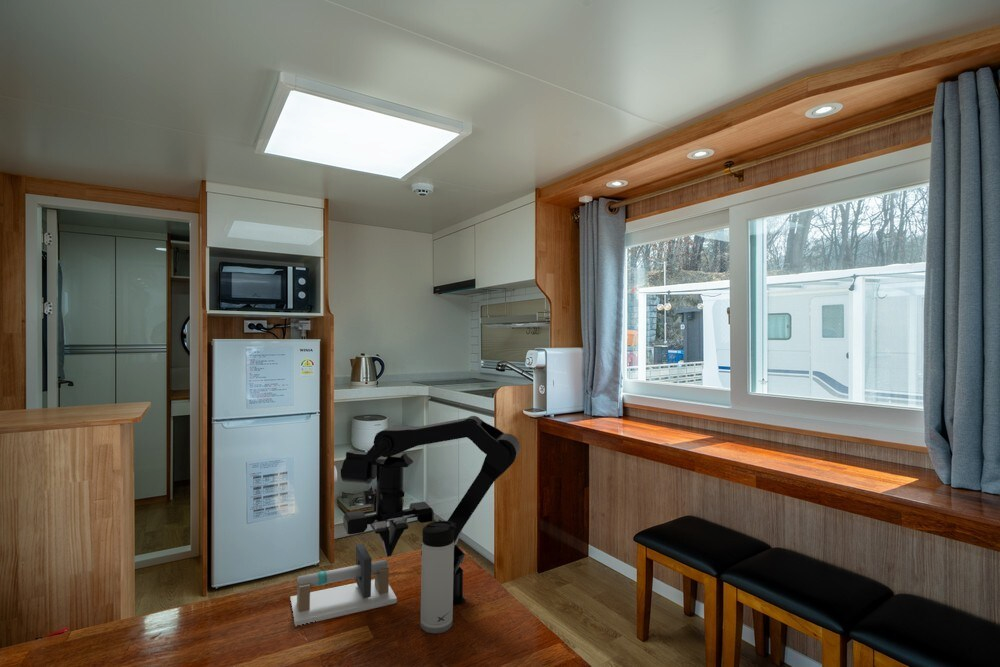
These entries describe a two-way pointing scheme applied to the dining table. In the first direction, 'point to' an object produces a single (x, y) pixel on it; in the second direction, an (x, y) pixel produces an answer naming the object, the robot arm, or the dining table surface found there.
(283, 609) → the dining table surface
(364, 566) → the dark grey flat block
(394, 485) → the robot arm
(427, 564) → the travel mug
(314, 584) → the pipe stand
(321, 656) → the dining table surface
